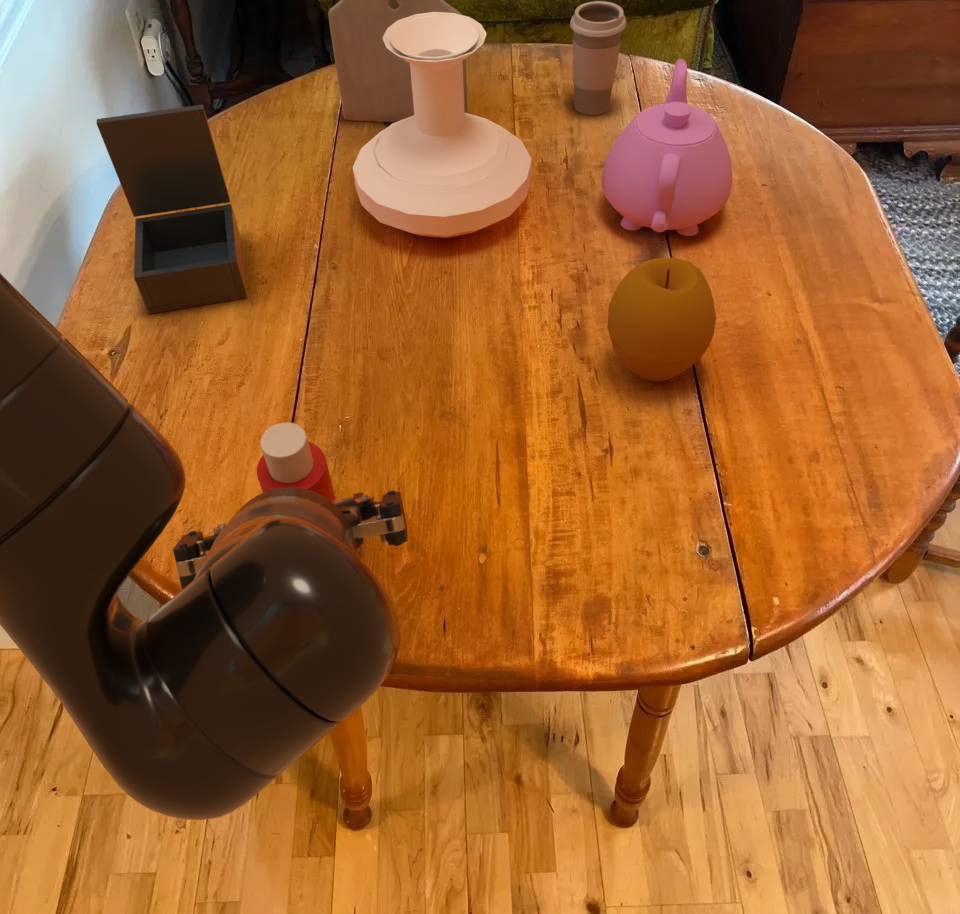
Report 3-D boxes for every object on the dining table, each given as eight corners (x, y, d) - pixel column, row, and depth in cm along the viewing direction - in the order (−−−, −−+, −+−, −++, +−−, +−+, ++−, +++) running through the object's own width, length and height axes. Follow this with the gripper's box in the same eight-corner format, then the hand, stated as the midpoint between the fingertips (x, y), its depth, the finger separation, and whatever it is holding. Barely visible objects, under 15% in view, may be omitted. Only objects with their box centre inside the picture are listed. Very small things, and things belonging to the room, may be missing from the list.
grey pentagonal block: (475, 94, 116) (471, -64, 101) (467, 126, 112) (461, -35, 96) (356, 89, 118) (334, -68, 103) (343, 120, 113) (318, -40, 98)
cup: (597, 125, 111) (605, 30, 102) (554, 109, 114) (559, 15, 104) (628, 102, 114) (638, 8, 105) (585, 87, 117) (592, -6, 108)
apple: (630, 318, 88) (645, 220, 79) (720, 353, 85) (746, 255, 76) (584, 377, 83) (593, 280, 74) (677, 417, 80) (699, 320, 70)
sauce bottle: (271, 551, 70) (231, 449, 60) (310, 508, 73) (278, 402, 63) (319, 579, 68) (287, 478, 58) (358, 533, 71) (333, 429, 61)
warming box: (247, 298, 91) (236, 261, 88) (149, 314, 90) (133, 277, 86) (241, 240, 98) (231, 203, 94) (149, 255, 96) (135, 218, 93)
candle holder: (355, 261, 95) (327, 92, 80) (361, 159, 107) (338, -4, 92) (538, 252, 95) (545, 82, 80) (523, 151, 108) (526, -13, 93)
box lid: (203, 108, 85) (202, 104, 85) (96, 123, 83) (96, 118, 84) (230, 202, 93) (230, 197, 94) (133, 217, 92) (133, 212, 92)
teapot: (609, 152, 107) (619, 51, 97) (726, 163, 105) (749, 61, 95) (589, 252, 95) (599, 148, 85) (722, 267, 93) (747, 162, 83)
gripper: (402, 471, 47) (389, 448, 63) (131, 525, 45) (188, 488, 61) (429, 605, 48) (409, 549, 64) (163, 664, 46) (211, 591, 62)
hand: (301, 519), depth 62 cm, fingers open, 8 cm apart
